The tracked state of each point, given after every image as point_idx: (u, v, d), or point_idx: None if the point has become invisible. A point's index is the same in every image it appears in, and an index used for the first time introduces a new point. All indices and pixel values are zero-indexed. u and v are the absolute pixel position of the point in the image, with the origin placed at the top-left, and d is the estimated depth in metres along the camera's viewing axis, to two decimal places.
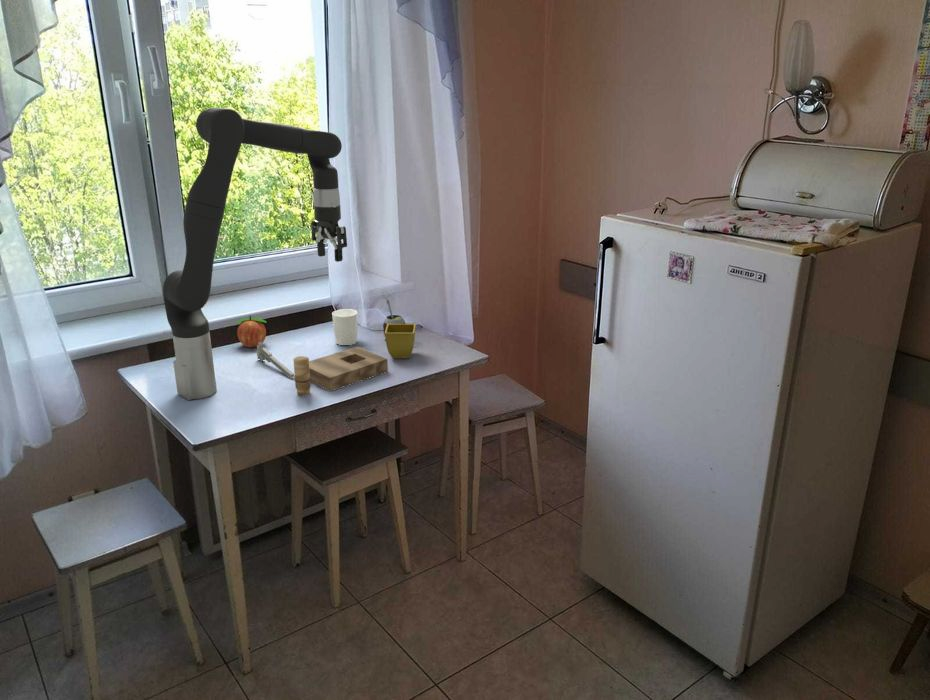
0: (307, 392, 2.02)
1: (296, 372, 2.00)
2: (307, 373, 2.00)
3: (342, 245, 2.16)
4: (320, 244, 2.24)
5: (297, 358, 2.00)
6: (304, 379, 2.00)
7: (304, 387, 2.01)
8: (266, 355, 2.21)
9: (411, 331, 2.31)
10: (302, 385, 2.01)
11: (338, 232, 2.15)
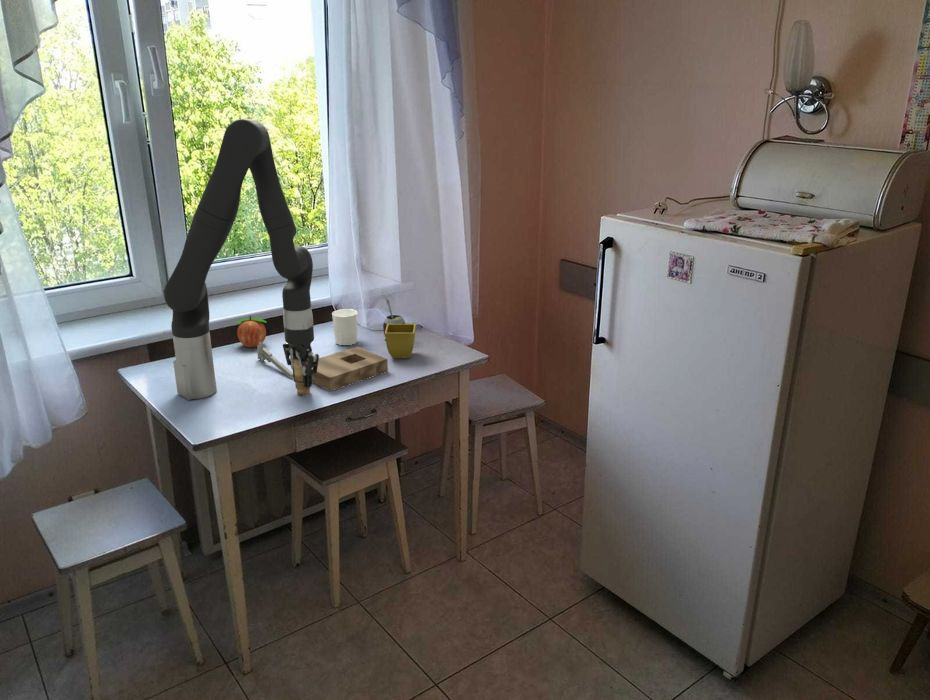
0: (307, 392, 2.02)
1: (296, 372, 2.00)
2: None
3: (311, 372, 1.97)
4: None
5: None
6: None
7: (304, 387, 2.01)
8: (266, 355, 2.21)
9: (411, 331, 2.31)
10: (302, 385, 2.01)
11: (310, 361, 1.95)
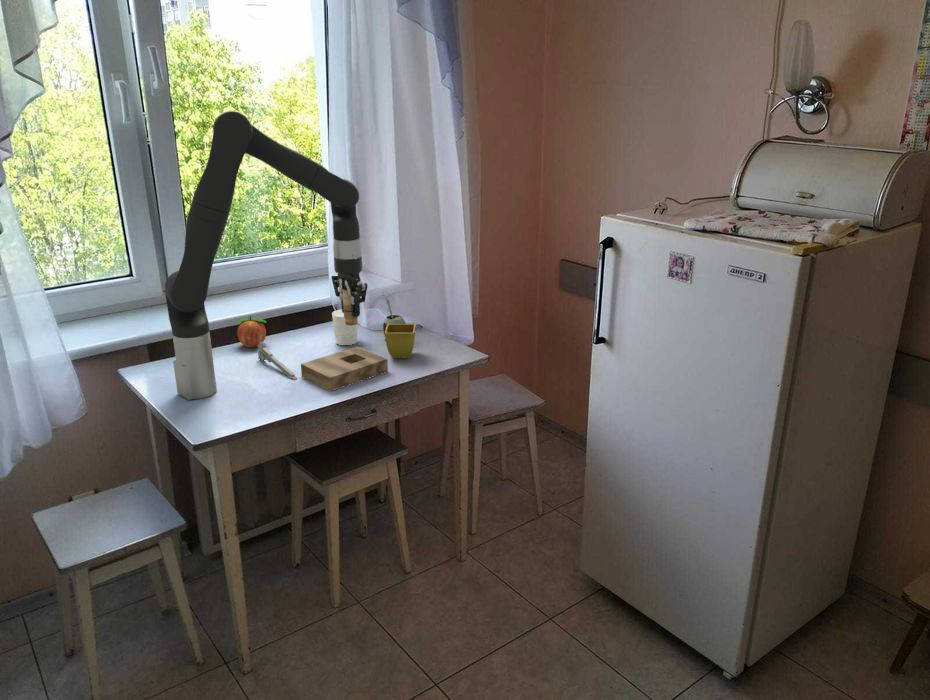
0: (355, 322, 2.11)
1: (345, 302, 2.09)
2: None
3: (360, 300, 2.06)
4: None
5: None
6: None
7: (352, 316, 2.10)
8: (267, 355, 2.21)
9: (411, 331, 2.31)
10: (350, 314, 2.10)
11: (359, 289, 2.04)
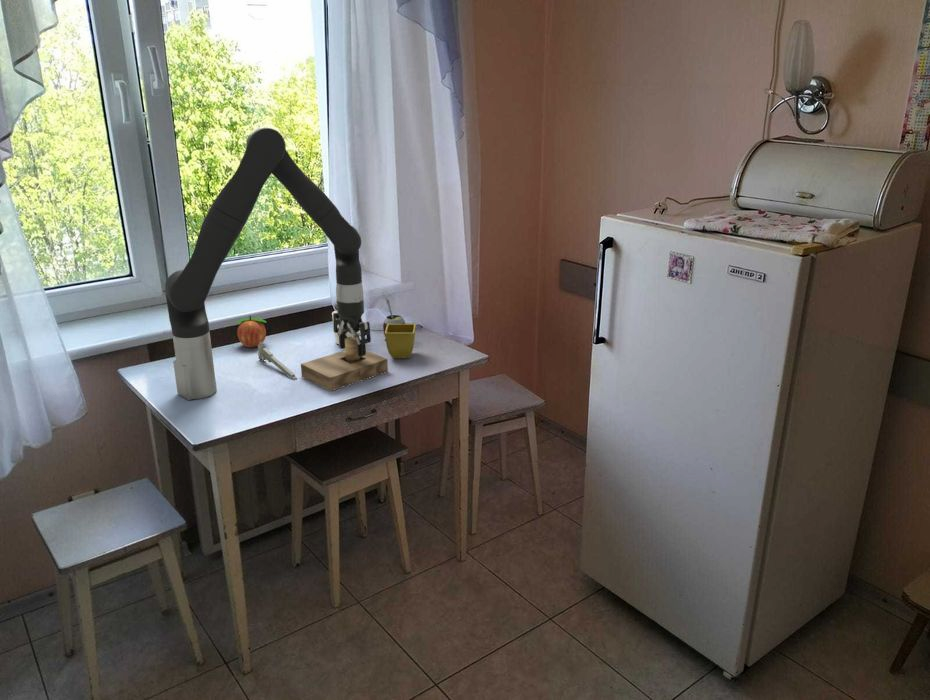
0: None
1: (347, 351, 2.14)
2: (357, 352, 2.15)
3: (366, 341, 2.09)
4: (342, 336, 2.17)
5: (348, 338, 2.15)
6: (354, 358, 2.15)
7: None
8: (267, 355, 2.21)
9: (411, 331, 2.31)
10: None
11: (362, 328, 2.08)
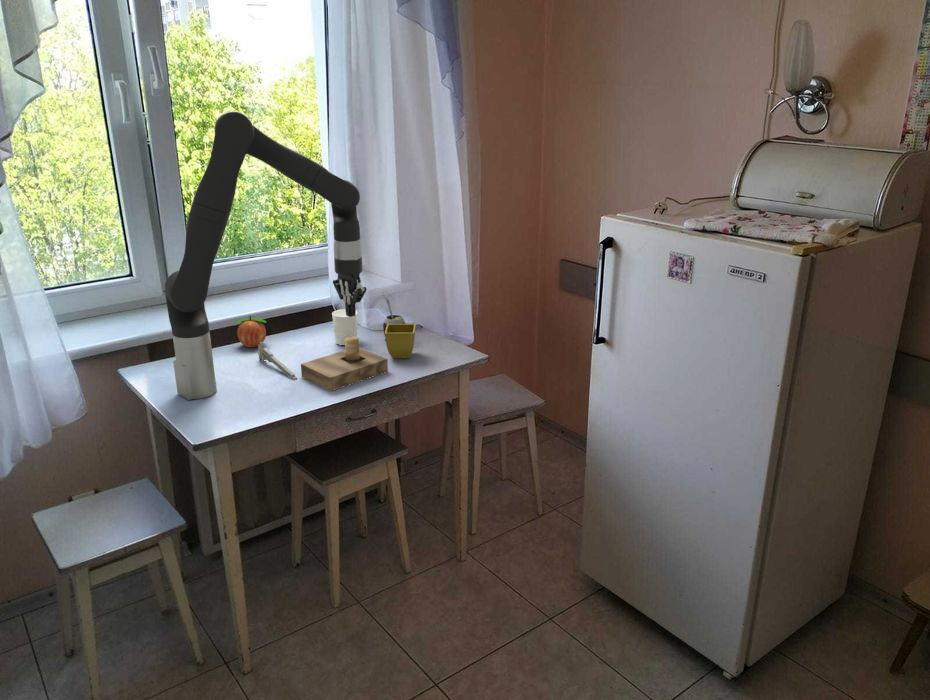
0: None
1: (347, 351, 2.14)
2: (357, 352, 2.15)
3: (355, 300, 2.08)
4: None
5: (348, 338, 2.15)
6: (354, 358, 2.15)
7: None
8: (267, 355, 2.21)
9: (411, 331, 2.31)
10: None
11: (357, 293, 2.05)
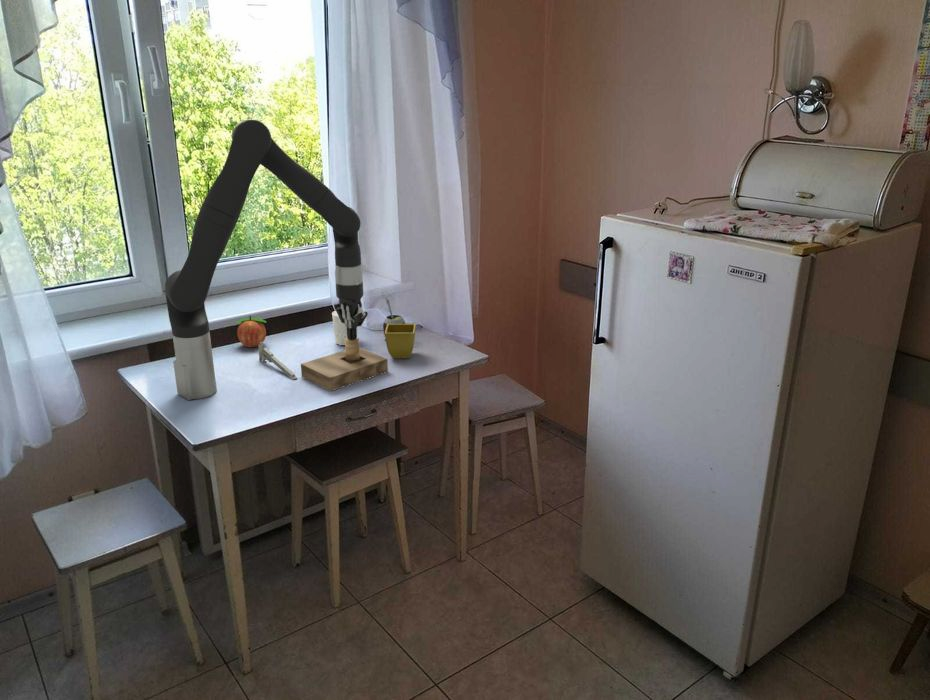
0: None
1: (347, 352, 2.14)
2: (357, 352, 2.15)
3: (356, 324, 2.10)
4: None
5: None
6: (354, 358, 2.15)
7: None
8: (267, 355, 2.21)
9: (411, 331, 2.31)
10: None
11: (358, 317, 2.07)
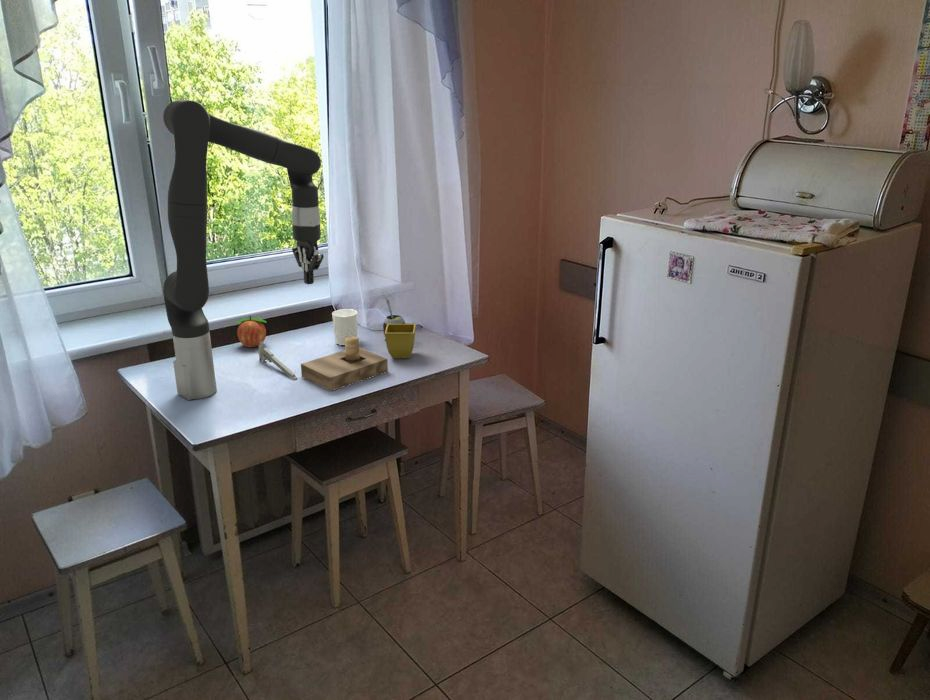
0: None
1: (347, 351, 2.14)
2: (357, 352, 2.15)
3: (313, 267, 2.09)
4: None
5: (348, 338, 2.15)
6: (354, 358, 2.15)
7: None
8: (268, 355, 2.21)
9: (411, 331, 2.31)
10: None
11: (314, 259, 2.06)
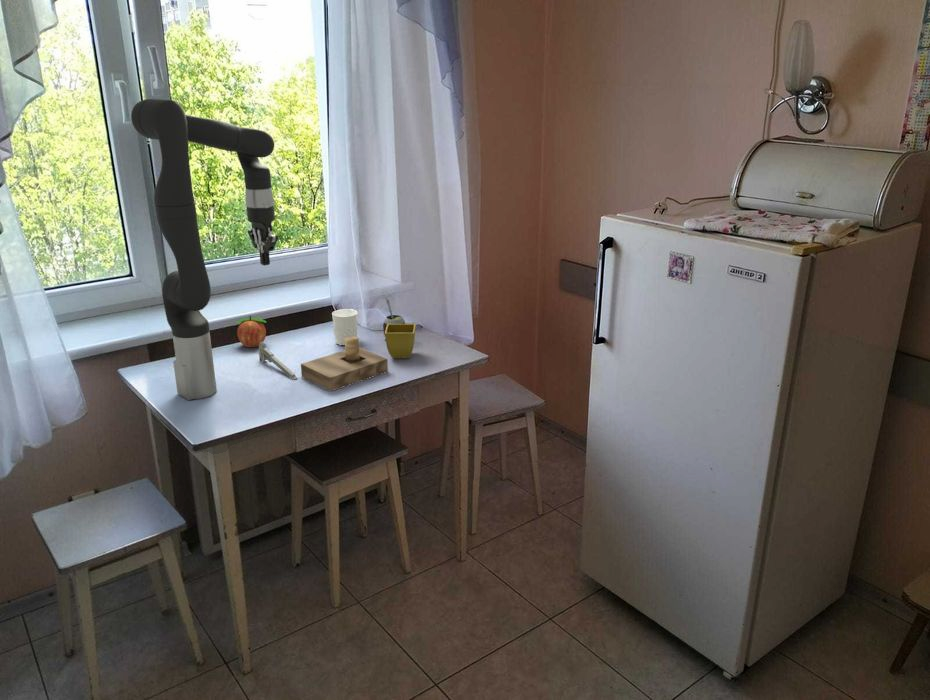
0: None
1: (347, 351, 2.14)
2: (357, 352, 2.15)
3: (268, 248, 2.13)
4: None
5: (348, 338, 2.15)
6: (354, 358, 2.15)
7: None
8: (268, 355, 2.21)
9: (411, 331, 2.31)
10: None
11: (269, 240, 2.10)
